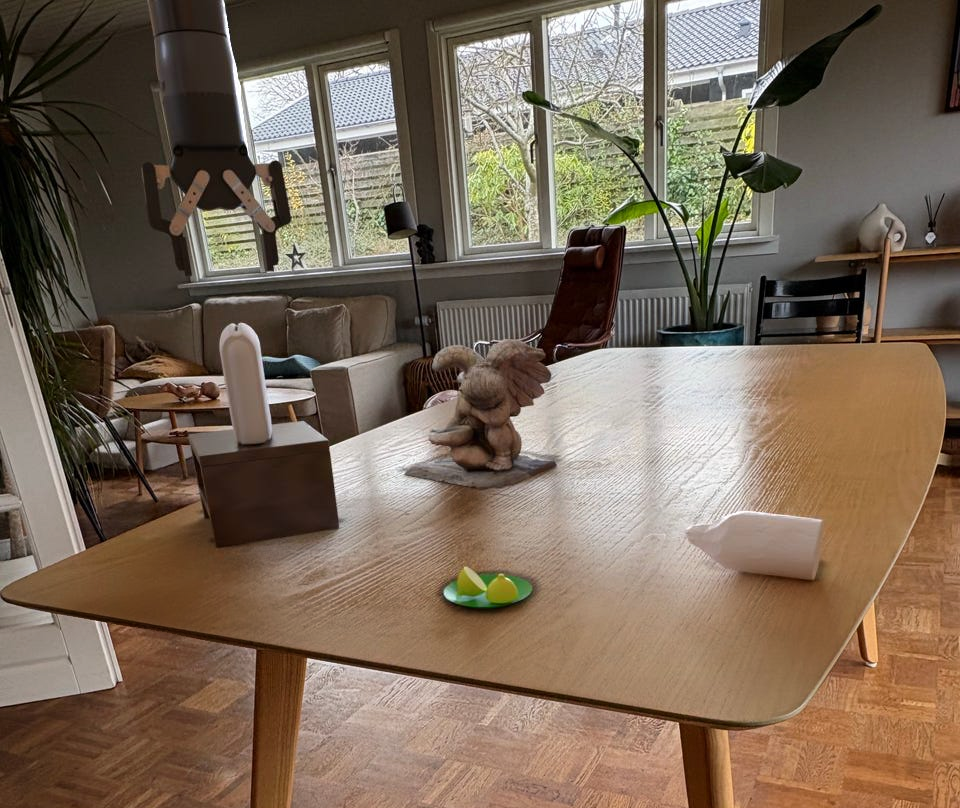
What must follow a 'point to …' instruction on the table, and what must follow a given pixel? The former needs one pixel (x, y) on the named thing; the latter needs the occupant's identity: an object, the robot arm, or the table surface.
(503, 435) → the cherub figurine
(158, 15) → the robot arm
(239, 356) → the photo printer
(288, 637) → the table surface
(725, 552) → the white plastic bottle
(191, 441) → the box
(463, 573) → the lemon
